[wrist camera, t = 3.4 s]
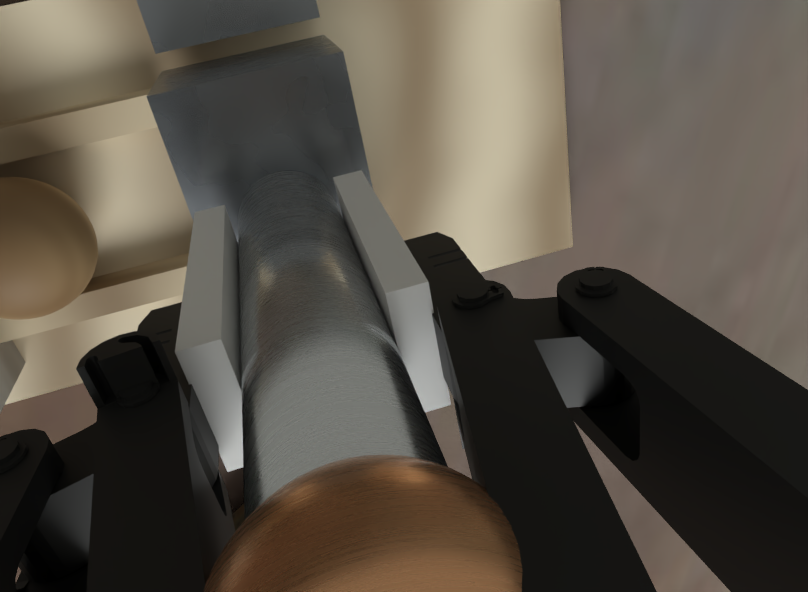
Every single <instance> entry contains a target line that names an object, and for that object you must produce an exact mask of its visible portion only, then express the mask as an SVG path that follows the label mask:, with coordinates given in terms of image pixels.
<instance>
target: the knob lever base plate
mask: <svg viewBox="0 0 808 592" xmlns="http://www.w3.org/2000/svg"><path fill="white" fill-rule="evenodd" d="M316 2H317V6H318V11H319V15H320V17H319V18H314V19H310V20H305V21H301V22H297V23H292V24H288V25H283V26H279V27H274V28H270V29H265V30H261V31H256V32H252V33H247V34H243V35H238V36H234V37H229V38H225V39H220V40H216V41H211V42H207V43H202V44H198V45H193V46H189V47H184V48H180V49H175V50H171V51H166V52H162V53H158V54H155V51H154V48H153V45H152V43H151V40H150V37H149V34H148V31H147V29H146V26H145V23H144V20H143V17H142V15H141V12H140V9H139V6H138V3H137V1H136V0H28V1H23V2H19V3H14V4H9V5H4V6H0V178H1V177H22V178H29V179H34V180H38V181H41V182H44V183H47V184H49V185H52V186H54V187H56V188H58V189H59V190H61V191H63V192H64V193H66V194H67V195H69V196H70V197H71V198H72V199H73V200H74V201H76V202H77V203H78V205H79V206H80V207H81V208H82V209H83V210H84V212H85V213H86V215H87V216H88V218H89V220H90V222H91V223H92V225H93V228H94V231H95V234H96V238H97V245H98V258H97V263H96V267H95V271H94V274H93V276H92V278H91V280H90V282H89V283H88V285H87V286H86V288H85V290H84V291H83V292H82V293H81V294H80V295H79V296H78V297H77V298H76V299H75V300H74V301H72V302H71V303H70V304H68V305H67V306H65V307H64V308H62V309H60V310H58V311H56V312H54V313H51V314H49V315H46V316H43V317H38V318H32V319H23V320H12V319H3V318H0V413H1V411H2V409H3V407H4V405H5V404H9V403H13V402H16V401H20V400H23V399H27V398H31V397H34V396H38V395H41V394H45V393H49V392H52V391H56V390H59V389H63V388H67V387H70V386H74V385H77V384H81V383H83V381H82V379H81V377H80V375H79V374H78V372H77V370H76V368H77V365H78V363H79V361H80V359H81V358H82V357H83V356H84V355H85V354H87V353H88V352H89V351H90V350H91V349H93V348H94V347H96V346H97V345H99V344H100V343H102V342H104V341H106V340H108V339H111V338H113V337H115V336H118V335H121V334H125V333H129V332H133V331H137V329H138V325H139V324H140V323H141V322H142V320H143V319H144V318H145V317H146V316H147V315H148V314H149V312H150V311H151V310H154V309H158V308H162V307H165V306H169V305H173V304H177V303H180V302H182V298H183V291H184V284H185V277H186V270H187V263H188V256H189V249H190V242H191V235H192V228H193V219H192V217H191V214H190V211H189V209H188V206H187V203H186V201H185V198H184V195H183V193H182V190H181V187H180V185H179V182H178V179H177V177H176V174H175V171H174V169H173V166H172V163H171V161H170V158H169V155H168V153H167V150H166V147H165V145H164V142H163V139H162V137H161V134H160V131H159V129H158V126H157V123H156V121H155V118H154V115H153V113H152V110H151V107H150V105H149V102H148V99H147V95H148V93H149V92H150V90H151V88H152V87H153V85H154V83H155V82H156V80H157V78H158V77H159V75H160V73H161V72H162V71H165V70H169V69H174V68H178V67H183V66H187V65H192V64H196V63H200V62H205V61H209V60H214V59H218V58H222V57H227V56H231V55H236V54H240V53H245V52H249V51H253V50H258V49H262V48H267V47H271V46H275V45H280V44H284V43H289V42H293V41H298V40H302V39H306V38H311V37H315V36H320V35H325V36H326V37H327V38H329V39H330V40H331V41H332V42H333V43H334V44H335V45H337V46H338V47H339V48H340V49H341V50H342V51H343V52H344V57H345V62H346V66H347V71H348V75H349V80H350V85H351V89H352V94H353V99H354V103H355V108H356V113H357V117H358V122H359V126H360V131H361V136H362V140H363V145H364V150H365V154H366V159H367V164H368V168H369V173H370V178H371V182H372V187H373V190H374V192H375V194H376V195H377V197H378V199H379V200H380V202H381V204H382V205H383V207H384V209H385V210H386V212H387V214H388V215H389V217H390V219H391V220H392V222H393V224H394V225H395V227H396V229H397V230H398V232H399V234H400V235H401V237H402V239H403V240H404V241H405V240H408V239H412V238H416V237H420V236H423V235H427V234H431V233H435V232H439V233H441V234H444V235H446V236H449V237H451V238H453V239H454V240H455V242H456V243H457V244H458V246H459V247H460V248H461V250H462V251H463V252H464V253H465V255H466V256H467V259H468V258H469V260H470V261H471V262H472V264H473V265H474V266H475V267H476V269H477V270H478V271H479V273H480V272H483V271H487V270H491V269H494V268H498V267H501V266H505V265H509V264H512V263H516V262H519V261H523V260H527V259H530V258H534V257H537V256H541V255H545V254H548V253H552V252H555V251H559V250H563V249H566V248H570V247H573V242H572V222H571V203H570V184H569V164H568V145H567V126H566V106H565V87H564V68H563V48H562V29H561V10H560V0H316Z"/></svg>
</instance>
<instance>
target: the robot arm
mask: <svg viewBox="0 0 808 592" xmlns="http://www.w3.org/2000/svg"><path fill="white" fill-rule="evenodd" d="M333 180H334V184H335V188H336V192H337V196H338V200H339V204H340V208H341V212H342V217H343V220H344V222H345V224H346V227H347V229H348V232H349V234H350V236H351V239H352V241H353V243H354V246H355V248H356V251H357V253H358V255H359V258H360V260H361V262H362V265H363V267H364V269H365V272H366V274H367V277H368V279H369V281H370V284H371V286H372V288H373V291H374V293H375V296H376V298H377V300H378V303H379V305H380V307H381V310H382V312H383V315H384V317H385V319H386V322H387V324H388V326H389V329H390V331H391V334H392V336H393V338H394V341H395V343H396V345H397V348H398V350H399V352H400V355H401V357H402V359H403V362H404V364H405V366H406V369H407V371H408V374H409V376H410V378H411V381H412V383H413V385H414V388H415V390H416V393H417V395H418V397H419V400H420V402H421V404H422V407H423V409H424V411H425V412H428V411H432V410H435V409H438V408H441V407H445V406H448V405H451V402H450V397H449V391H448V387H449V389H450V391H451V393H452V395H453V398H454V404H455V409H456V415H457V420H458V426H459V432H460V437H461V443H462V448H463V449H465V452H466V456H467V460H468V464H469V468H470V472H471V476H472V480H474V481H475V482H477V483H478V484H480V485H481V486H483V487H484V488H485V489H486V491H487V492H488V495H489V496H490V497H491V498H492V499H493V500H494V501H495V502H496V503H497V504H498V505H499V507H500V508H501V510H502V512H503V513H504V515H505V517H506V518H507V520H508V521H509V523H510V525H511V527H512V530H513V533H514V535H515V538H516V540H517V543H518V546H519V551H520V558H521V564H522V592H657V591H656V589H655V587H654V585H653V583H652V581H651V579H650V577H649V575H648V573H647V571H646V569H645V567H644V565H643V563H642V561H641V559H640V557H639V555H638V553H637V550H636V548H635V546H634V544H633V542H632V540H631V538H630V536H629V534H628V532H627V530H626V528H625V526H624V524H623V522H622V520H621V518H620V516H619V514H618V511H617V509H616V507H615V505H614V503H613V501H612V499H611V497H610V495H609V493H608V491H607V489H606V487H605V485H604V483H603V481H602V479H601V477H600V475H599V473H598V470H597V468H596V466H595V464H594V462H593V460H592V458H591V456H590V454H589V452H588V450H587V448H586V446H585V444H584V442H583V440H582V438H581V436H580V434H579V432H578V429H577V427H576V425H575V423H576V424H577V425H578V426H579V427H580V428H581V429H582V430H583V432H584V433H585V434H586V435H587V436H588V437H589V438H590V439H591V440H592V441H593V442H594V443H595V445H596V446H597V447H598V448H599V449H600V450H601V451H602V452H603V453H604V454H605V455H606V457H607V458H608V459H609V460H610V461H611V462H612V463H613V464H614V465H615V466H616V467H617V468H618V470H619V471H620V472H621V473H622V474H623V475H624V476H625V477H626V478H627V479H628V480H629V482H630V483H631V484H632V485H633V486H634V487H635V488H636V489H637V490H638V491H639V492H640V493H641V495H642V496H643V497H644V498H645V499H646V500H647V501H648V502H649V503H650V504H651V505H652V507H653V508H654V509H655V510H656V511H657V512H658V513H659V514H660V515H661V516H662V517H663V518H664V520H665V521H666V522H667V523H668V524H669V525H670V526H671V527H672V528H673V529H674V530H675V531H676V533H677V534H678V535H679V536H680V537H681V538H682V539H683V540H684V541H685V542H686V543H687V545H688V546H689V547H690V548H691V549H692V550H693V551H694V552H695V553H696V554H697V555H698V556H699V558H700V559H701V560H702V561H703V562H704V563H705V564H706V565H707V566H708V567H709V568H710V570H711V571H712V572H713V573H714V574H715V575H716V576H717V577H718V578H719V579H720V580H721V581H722V583H723V584H724V585H725V586H726V587H727V588H728V589H729V590H730V591H731V592H808V390H807V389H805V388H804V387H802V386H801V385H799V384H798V383H796V382H795V381H793V380H792V379H790V378H788V377H787V376H785V375H784V374H782V373H781V372H779V371H778V370H776V369H775V368H773V367H771V366H770V365H768V364H767V363H765V362H764V361H762V360H761V359H759V358H758V357H756V356H754V355H753V354H751V353H750V352H748V351H747V350H745V349H744V348H742V347H741V346H739V345H737V344H736V343H734V342H733V341H731V340H730V339H728V338H727V337H725V336H724V335H722V334H720V333H719V332H717V331H716V330H714V329H713V328H711V327H710V326H708V325H707V324H705V323H703V322H702V321H700V320H699V319H697V318H696V317H694V316H693V315H691V314H690V313H688V312H686V311H685V310H683V309H682V308H680V307H679V306H677V305H676V304H674V303H673V302H671V301H669V300H668V299H666V298H665V297H663V296H662V295H660V294H659V293H657V292H656V291H654V290H652V289H651V288H649V287H648V286H646V285H645V284H643V283H642V282H640V281H639V280H637V279H635V278H634V277H632V276H631V275H629V274H627V273H625V272H622V271H620V270H617V269H611V268H605V267H596V268H594V267H589V268H585V269H582V270H577V271H574V272H572V273H570V274H568V275H566V276H564V277H563V278H562V279H561V280H560V281H559V282H558V285H557V297H550V298H539V299H518V298H513V296H512V294H511V292H510V291H509V290H508V289H507V288H506V286H505V285H503V284H500V283H498V282H495V281H489V280H485V279H484V278H483V276H482V275H481V274H480V273H479V271H478V270H477V269H476V267H475V266H474V265H473V264H472V262H471V261H470V260H469V258H468V259H467V256H466V255H465V253H464V252H463V251H462V250H461V248H460V247H459V246H458V244H457V243H456V242H455V240H454V239H453V238H451V237H449V236H446V235H444V234H441V233H439V232H435V233H431V234H427V235H423V236H420V237H416V238H412V239H408V240H405V241H404V240H403V239H402V237H401V235H400V234H399V232H398V230H397V229H396V227H395V225H394V224H393V222H392V220H391V219H390V217H389V215H388V214H387V212H386V210H385V209H384V207H383V205H382V204H381V202H380V200H379V199H378V197H377V195H376V194H375V192H374V190H373V189H372V187H371V185H370V184H369V182H368V180H367V179H366V177H365V175H364V174H363V172H362V170H360V171H356V172H352V173H348V174H344V175H340V176H336V177H333ZM76 370H77V372H78V374H79V375H80V377H81V379H82V381H83V383H84V385H85V386H86V388H87V390H88V392H89V394H90V396H91V397H92V399H93V401H94V403H95V405H96V407H97V409H98V410H97V422H96V423H94V424H93V425H91V426H89V427H87V428H86V429H84V430H82V431H80V432H78V433H76V434H74V435H72V436H70V437H68V438H65V439H63V440H61V441H59V442H57V443H55V444H52V443H51V441H50V439H49V438H48V436H47V434H46V433H45V432H44V431H41V430H37V429H28V430H20V431H17V432H14V433H11V434H7V435H4V436H1V437H0V592H203V591H204V588H205V584H206V581H207V579H208V577H209V575H210V572H211V570H212V568H213V566H214V564H215V562H216V560H217V559H218V557H219V555H220V554H221V552H222V550H223V549H224V547H225V546H226V544H227V543H228V541H229V540H230V538H231V537H232V535H233V534H234V533H235V527H234V522H233V517H232V512H231V507H230V502H229V497H228V492H227V488H226V486H225V484H224V481H223V479H222V477H221V475H220V473H219V470H218V457H219V454H220V456H221V458H222V460H223V463H224V465H225V467H226V470H227V472H229V471H233V470H236V469H239V468H243V429H242V385H241V341H240V297H239V253H238V242H237V239H236V236H235V233H234V230H233V227H232V224H231V221H230V218H229V216H228V213H227V210H226V207H225V205H221V206H217V207H213V208H209V209H206V210H202V211H198V212H195V214H194V221H193V228H192V235H191V242H190V249H189V256H188V263H187V270H186V277H185V284H184V291H183V298H182V302H180V303H177V304H173V305H169V306H165V307H162V308H158V309H154V310H151V311H150V312H149V314H148V315H147V316H146V317H145V318H144V319H143V320H142V322H141V323H140V324H139V325H138V329H137V331H133V332H129V333H125V334H121V335H118V336H115V337H113V338H111V339H108V340H106V341H104V342H102V343H100V344H99V345H97V346H96V347H94V348H93V349H91V350H90V351H89V352H88V353H87V354H85V355H84V356H83V357H82V358H81V359H80V361H79V363H78V365H77V368H76ZM447 385H448V386H447ZM574 422H575V423H574ZM18 567H19V568H20V569H21V573H20V575H19V578H18V580H17V582H16V583H15V577H16V573H17V569H18Z"/></svg>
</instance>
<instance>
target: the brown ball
mask: <svg viewBox="0 0 808 592" xmlns="http://www.w3.org/2000/svg"><path fill="white" fill-rule="evenodd" d="M97 258H98V245H97V238H96V234H95V231H94V228H93V225H92V223H91V222H90V220H89V218H88V216H87V215H86V213H85V212H84V210H83V209H82V208H81V207H80V206H79V205H78V203H77V202H76V201H74V200H73V199H72V198H71V197H70V196H69V195H67V194H66V193H64V192H63V191H61V190H59V189H58V188H56V187H54V186H52V185H49V184H47V183H44V182H41V181H38V180H34V179H29V178H22V177H1V178H0V318H3V319H12V320H23V319H32V318H38V317H43V316H46V315H49V314H51V313H54V312H56V311H58V310H60V309H62V308H64V307H65V306H67V305H68V304H70V303H71V302H72V301H74V300H75V299H76V298H77V297H78V296H79V295H80V294H81V293H82V292H83V291H84V290H85V288H86V286H87V285H88V283H89V282H90V280H91V278H92V276H93V274H94V271H95V267H96V263H97Z"/></svg>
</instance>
